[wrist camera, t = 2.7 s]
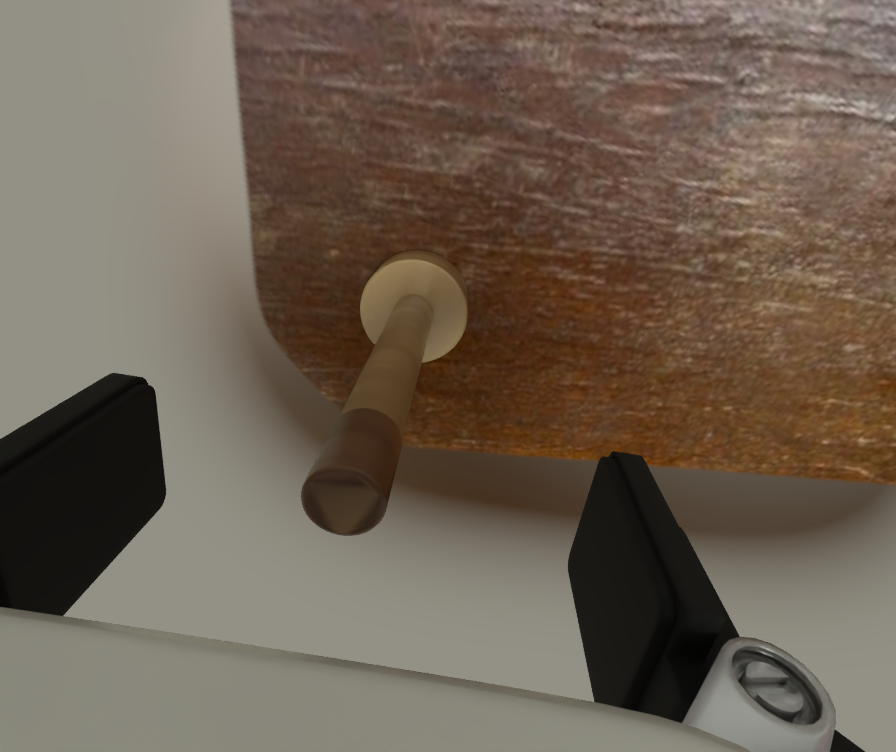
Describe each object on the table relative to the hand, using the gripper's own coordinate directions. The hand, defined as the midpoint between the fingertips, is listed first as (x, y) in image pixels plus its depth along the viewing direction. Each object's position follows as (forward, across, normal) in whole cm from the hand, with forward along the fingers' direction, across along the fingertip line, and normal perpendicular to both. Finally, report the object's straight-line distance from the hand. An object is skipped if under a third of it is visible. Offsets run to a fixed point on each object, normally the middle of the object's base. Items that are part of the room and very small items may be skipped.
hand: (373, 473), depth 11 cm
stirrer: (+13, +1, 0) cm, 13 cm away
